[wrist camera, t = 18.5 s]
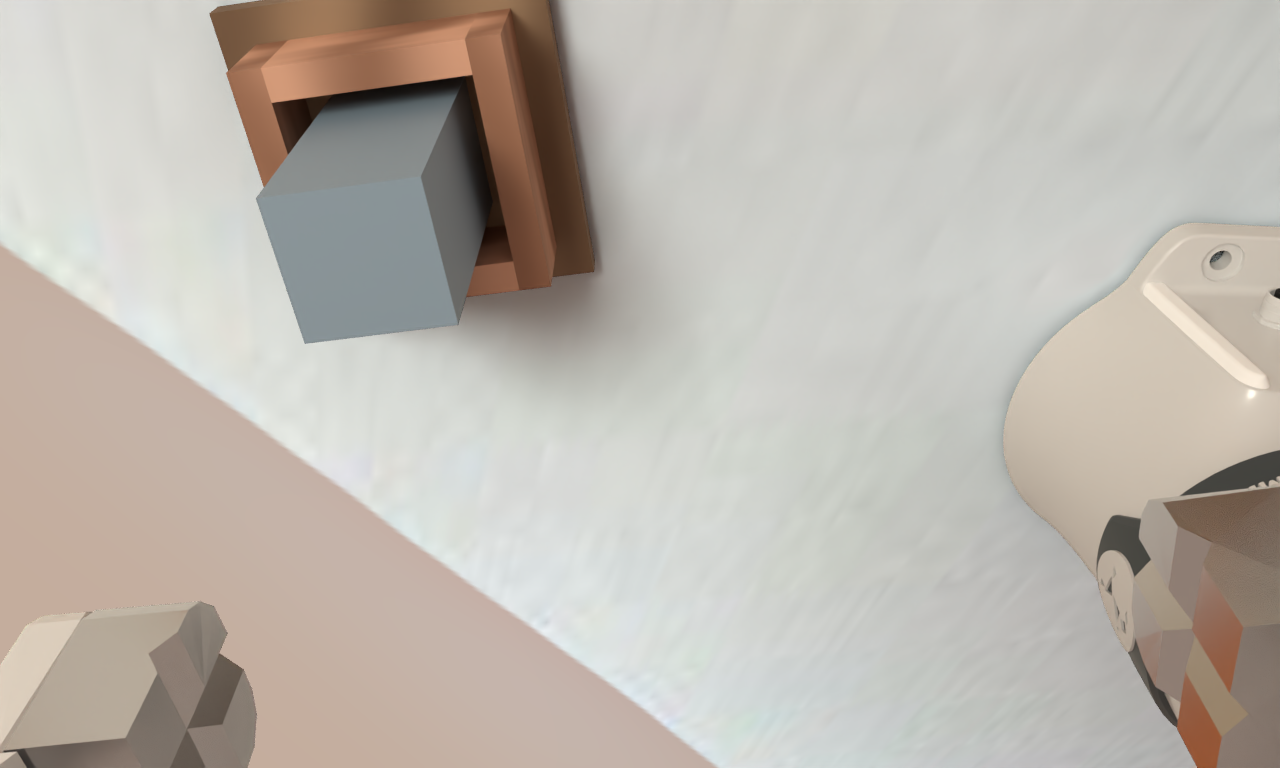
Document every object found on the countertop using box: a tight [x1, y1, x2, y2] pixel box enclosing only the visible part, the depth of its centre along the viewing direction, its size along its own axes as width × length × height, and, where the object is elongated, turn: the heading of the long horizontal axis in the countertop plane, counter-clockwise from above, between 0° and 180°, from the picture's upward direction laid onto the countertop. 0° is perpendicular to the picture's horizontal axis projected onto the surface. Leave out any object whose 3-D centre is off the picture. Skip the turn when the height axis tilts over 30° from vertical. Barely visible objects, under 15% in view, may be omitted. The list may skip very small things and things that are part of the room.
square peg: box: [256, 76, 493, 344], centre depth 39 cm, size 5×5×10 cm
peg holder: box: [210, 0, 595, 297], centre depth 42 cm, size 12×12×4 cm
